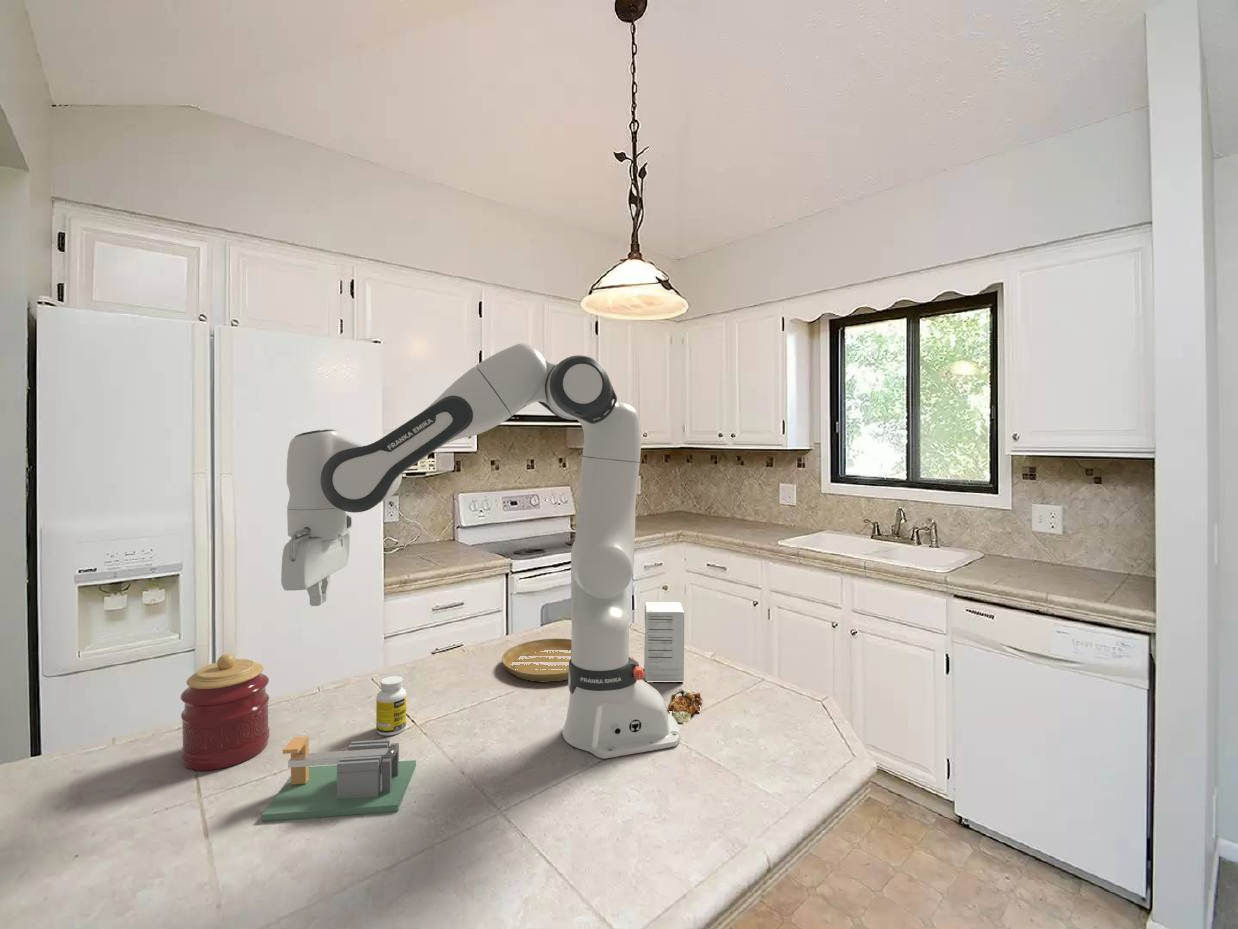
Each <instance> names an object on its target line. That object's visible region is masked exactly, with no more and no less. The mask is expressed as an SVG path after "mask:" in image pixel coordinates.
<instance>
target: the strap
mask: <svg viewBox="0 0 1238 929" xmlns="http://www.w3.org/2000/svg"><path fill="white" fill-rule="evenodd" d="M390 745H391V744H390ZM397 750H398V748H397V746H396V745H391V746H390V747H389V748H380V749H366V750H351V751H348V750H338V751H323V752H309V753H307V754H294V755H293V756H292V757H291V756H290V758H289V759H288V760H287V768H288V769H291V767H304V766H309V767H313V766H330V765H337V763H338V762H340V759H341V758H356V757H372V756H381V761H383V759H386V758H391V762H392V760H393V758H394V756H395V754H396V752H397Z"/></svg>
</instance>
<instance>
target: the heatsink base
mask: <svg viewBox="0 0 1238 929" xmlns="http://www.w3.org/2000/svg"><path fill="white" fill-rule="evenodd" d="M391 745H396V746H397V748H398V750H397V752H396V754H395V756H394V758H393V760H392V762H391V758H386V759H383V761H381V756H372V757H356V758H341V759H340V762H338V763H337V764H332V765H318V766H309V780H308V781H307V783H306V784H294V785H291V777H290V778H289V779H288V781H287V782H286V783H285V784H284V785H283V787H282V788H281V789H280V791H279V792H278V793H277V795H276V796H274V798H273V800H272V801H271V802H270V803H269V805H268V806H267V808H266V809H265V810H264V811H263V813H262V814H261V817H262V818H261V821H262V822H271V821H285V820H299V819H311V818H315V819H316V818H325V817H327V818H328V817H339V816H341V817H342V816H355V815H366V814H367V815H368V814H381V813H393V812H394V813H395V812H398V811H399V809H400V806H401V803H402V801H403V798H404V796H405V794H406V791H407V788H408V787H409V783H410V782H411V779H412V777H413V774H414V772H415V769H416V766H417V760H416V759H415V760H400V743H399V742H395V743H391V739H390V738H389V739H374V740H357V741H351V742H350V744H349V746H348V747H347V748H348V750H347V751H351V750H366V749H380V748H389V747H390V746H391Z"/></svg>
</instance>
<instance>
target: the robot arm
mask: <svg viewBox="0 0 1238 929" xmlns="http://www.w3.org/2000/svg"><path fill="white" fill-rule="evenodd" d="M533 403H539V404H540V405H541V406H543V407H544V408H545V409H547V410H548V411H549V412H550V413H551V414H553V415H555V416H556V417H558V418H560V419H562V420H566V421H567V420H568V421H573V420H577V421H578V422H579V423H580V425H581V427H582V431H583V440H584V443H583V449H582V457H581V464H580V465H581V466H580V474H579V476H580V477H579V486H578V495H577V496H578V497H577V507H576V508H577V511H576V514H577V515H576V521H575V522H576V523H575V535H574V542H573V544H572V546H571V551H570V583H571V584H570V589H571V590H570V592H571V594H570V596H571V597H570V599H571V601H570V602H571V603H570V604H571V605H570V607H571V630H570V632H571V633H570V634H571V638H570V639H571V659H570V660H569V667H568V680H567V682H568V683H567V685H568V689H569V700H568V707H567V712H566V718H565V722H564V724H563V729H562V732H561V734H562V736H563V739H564V741H565V742H566V743H567V744H568V745H571V746H572V747H574V748H576V749H579V750H582V751H586V752H589V753H591V754H593V755H594V756H595V757H597V758H599V759H604V760H605V759H610V758H617V757H623V756H627V755H633V754H634V755H635V754H639V753H644V752H645V753H646V752H649V751H650V752H652V751H656V750H662V749H669V748H674V747H677V745H678V744H679V743H680V740H681V730H680V726H679V724H678V722H676V720H675V719H674V717H673V716H672V715H671V714H670V713H669V712H668V709H667V704H666V702H665V699H664V698H663V696H662V695H661V693H660V692H659V690H658V689H656V688H655V687H653V686H652V685H651V684H649V682H645V680H644V679H645V672H644V668H643V667H641V666H640V664H639V662H638V661H637V660H636V658H634V657H633V656H631V657H630V656H629V654H630V648H629V647H630V644H629V643H630V640H629V639H630V617H629V607H628V606H629V604H628V591H627V590H628V587H629V585H630V582H631V580H632V578H633V574H634V560H635V547H636V546H635V542H636V505H637V504H636V503H637V494H638V483H639V482H638V481H639V474H640V473H639V472H640V462H641V456H642V455H641V453H642V452H641V451H642V448H641V447H642V436H641V435H642V431H641V421H640V419H641V418H640V415H639V413H638V411H637V410H636V408H635V407H633V406H631V405H630V404H628V403H626V402H623V401H620V400H619V401H618V396H617V394H616V391H615V389H614V387H613V385H612V382H611V379H610V377H609V374H608V372H607V371H606V368H604V366H603V365H602V364H601V363H600V362H599V361H597V360H596V359H595V358H592V357H590V356H587V355H582V354H581V355H580V354H579V355H572V356H569V357H566V358H564V359H563V360H561V361H560V362H558V363H557V364H556V363H551V362H549V361H548V360H546V359H545V357H544V356H543V354H542V353H541V352H540V351H539V350H538V349H537V348H535V347H534V346H531V345H530V344H528V343H516V344H515V345H514V344H513V345H512V346H509V347H507V348H505V349H504V348H503V349H502V350H500V351H498V352H496V353H494V354H492V355H490V356H489V357H488V358H486V359H484V360H482V361H480V362H479V363H477V364H476V365H475V366H473V367H471V368H470V369H468V371H465V373H464V374H462V375H461V376H460V377H458V378H457V379H456V380H455V381H454V382H453V383H452V384H450V385H449V387H448V388H446V389H445V390H444V391H443V392H442V393H441V394H440V395H439V396H438V397H436V399H435V400H434V401H433V402H432V403H431V404H429V405H428V406H427V407H426V408H425V409H424V410H422V412H420V413H417V415H415V416H414V417H412V418H410V419H409V420H408V421H405V423H403V424H401V425H400V426H399V427H397V428H395V429H394V430H392V431H391V432H389V433H388V434H386V435H384V436H383V437H382V438H380V439H378V440H376V441H374V442H372V443H370V444H367V445H364V444H362V443H359V442H357V441H355V440H353V439H351V438H349V437H348V436H347V437H346V436H345V435H344V434H342V433H341V432H340V431H339V430H336V429H322V430H321V429H319V430H318V429H317V430H311V431H306V432H301V433H299V434H297V435H295V436H293V438H292V439H290V442H289V446H288V450H287V459H286V486H287V488H288V491H289V499H288V501H287V505H286V506H287V507H286V512H287V517H286V518H287V521H286V522H287V536H288V537H290V539H289V540H288V542H286V543H285V545H284V547H283V550H282V556H281V557H282V558H281V573H280V574H281V579H280V580H281V581H280V582H281V587H282V588H283V590H284V591H305V590H306V591H307V594H308V596H309V605H310V606H311V607H318V606H321V605H322V604H323V603H325V602H326V601H327V600H328V589H329V586H330V583H331V575H333V574H334V573H336V572H338V571H339V570H341V569H342V568H345V567H346V566H347V565H348V562H349V557H350V543H351V542H350V540H351V539H350V538H351V534H350V529H351V528H352V527H353V517H352V515H350V514H348V513H353V514H355V513H363V512H366V511H369V510H371V509H373V508H374V507H376V506H378V504H380V503H382V502H384V501H386V500H388V499H389V498H391V497H392V496H393V495H394V494H396V493H397V491H398V490H399V489H400V487H401V485H402V482H403V473H404V472H405V471H407V470H409V468H411V467H413V466H414V465H416V464H417V463H418V462H420V461H421V460H423V459H425V458H426V457H428V456H429V455H430V454H432V453H433V452H435V451H436V450H438V449H440V448H441V447H443V446H445V445H446V444H450V443H452V442H454V441H457V440H460V439H465V438H469V437H474V436H477V435H480V434H482V433H485V432H487V431H490V430H491V429H494V428H495V427H497V426H499V425H501V424H502V423H504V422H505V421H506V422H507V420H508V419H510V418H512V416H514V415H516V414H517V413H518V412H520V411H521V410H522V409H524V408H526V407H527V406H529V405H531V404H533Z"/></svg>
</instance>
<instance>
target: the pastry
mask: <svg viewBox="0 0 1238 929" xmlns="http://www.w3.org/2000/svg"><path fill="white" fill-rule="evenodd" d="M678 694H680V695H679V696H677V695H678ZM675 697H676V698H675ZM703 700H704V699H703V698H702V697H701V693H700V692H694V691H690V689H688V690H684V689H682V688H678V690H676V691H675V692H673V693H671V697H670V701H669V704H668V709H667V711H668V710H669V711H672V716H673V717H674V719H675V720H676V722H677V723H681V724H683V725H685V724H684V722H689V720H690V718H691V719H692V717H691V716H692V715H694V714H695V712H697V713H698V711H700V707H699V705H702V702H703ZM668 713H670V712H668ZM689 723H690V722H689Z"/></svg>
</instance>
